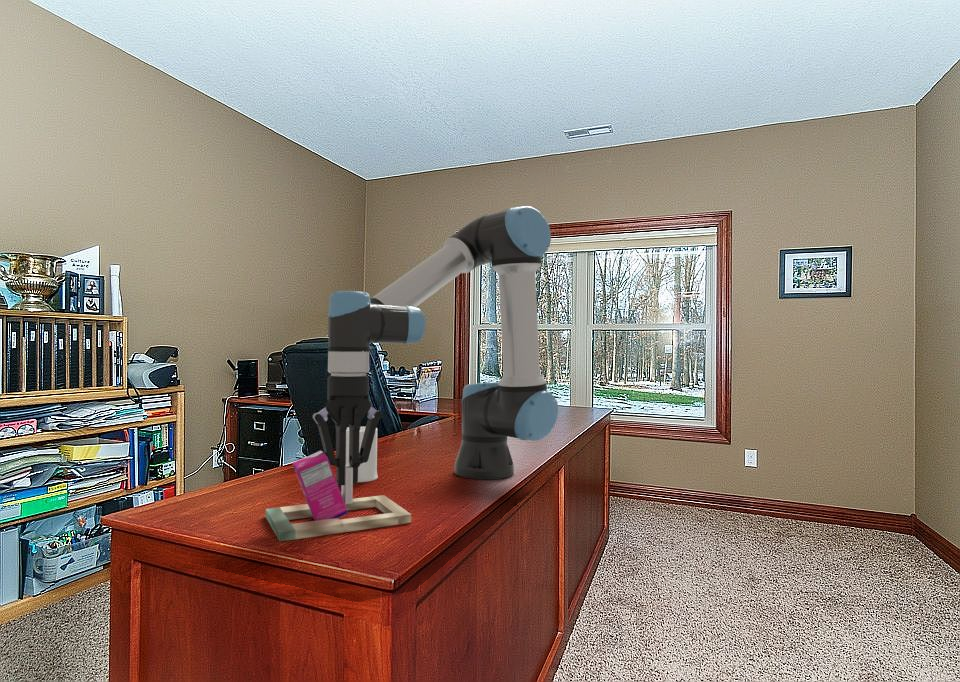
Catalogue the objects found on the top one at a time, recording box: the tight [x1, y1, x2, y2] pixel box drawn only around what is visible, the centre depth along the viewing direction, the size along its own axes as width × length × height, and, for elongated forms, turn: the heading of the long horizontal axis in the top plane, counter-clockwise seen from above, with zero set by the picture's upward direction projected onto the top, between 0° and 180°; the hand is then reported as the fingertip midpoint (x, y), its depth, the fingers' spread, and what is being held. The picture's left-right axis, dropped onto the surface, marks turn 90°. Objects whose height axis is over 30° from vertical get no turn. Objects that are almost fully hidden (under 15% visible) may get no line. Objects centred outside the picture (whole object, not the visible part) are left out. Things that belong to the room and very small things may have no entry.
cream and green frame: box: [265, 494, 412, 542], centre depth 106 cm, size 23×15×2 cm, turn 119°
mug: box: [346, 426, 379, 483], centre depth 141 cm, size 12×8×12 cm
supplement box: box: [292, 450, 349, 521], centre depth 104 cm, size 6×6×12 cm
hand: (346, 501), depth 107 cm, fingers closed
